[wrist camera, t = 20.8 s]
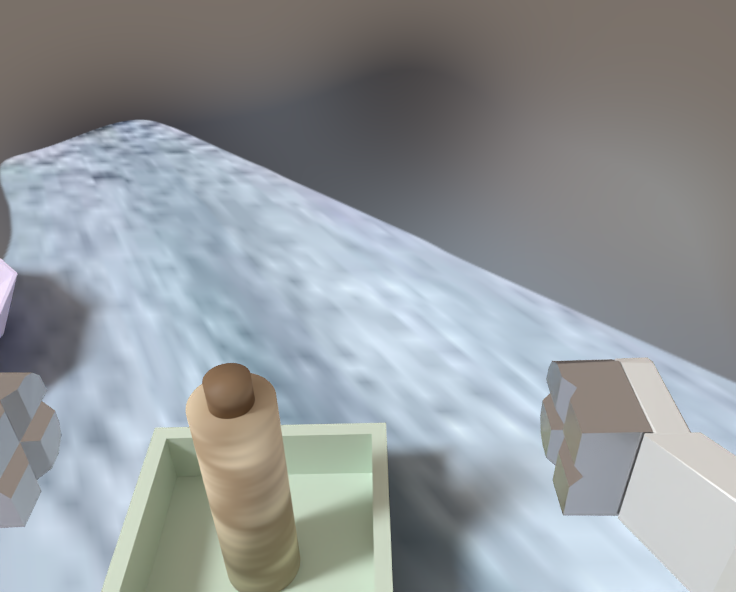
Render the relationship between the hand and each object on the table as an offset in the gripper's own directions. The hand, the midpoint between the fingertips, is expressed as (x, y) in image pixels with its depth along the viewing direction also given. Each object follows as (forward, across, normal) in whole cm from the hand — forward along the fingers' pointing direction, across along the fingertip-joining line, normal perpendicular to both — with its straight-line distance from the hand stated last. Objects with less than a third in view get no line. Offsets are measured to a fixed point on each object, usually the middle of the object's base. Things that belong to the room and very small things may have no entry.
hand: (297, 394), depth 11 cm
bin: (+17, +6, +32) cm, 37 cm away
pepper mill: (+17, +6, +31) cm, 36 cm away
